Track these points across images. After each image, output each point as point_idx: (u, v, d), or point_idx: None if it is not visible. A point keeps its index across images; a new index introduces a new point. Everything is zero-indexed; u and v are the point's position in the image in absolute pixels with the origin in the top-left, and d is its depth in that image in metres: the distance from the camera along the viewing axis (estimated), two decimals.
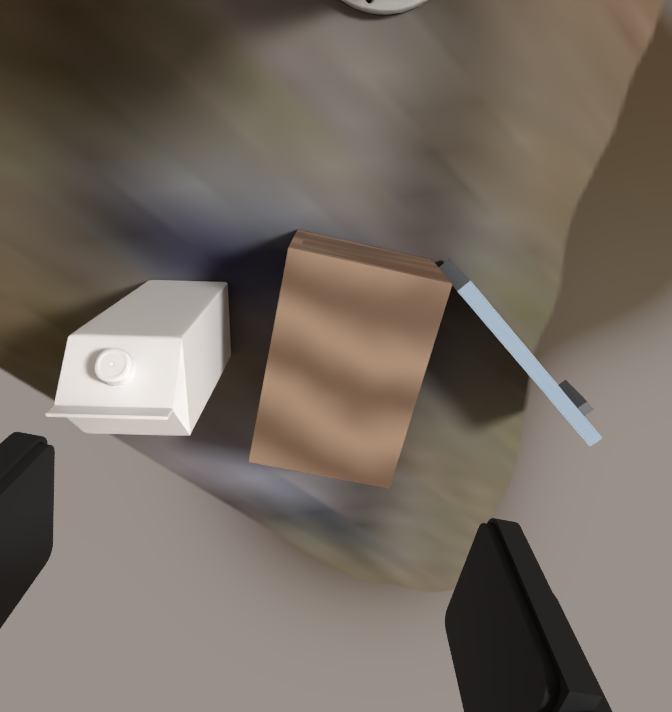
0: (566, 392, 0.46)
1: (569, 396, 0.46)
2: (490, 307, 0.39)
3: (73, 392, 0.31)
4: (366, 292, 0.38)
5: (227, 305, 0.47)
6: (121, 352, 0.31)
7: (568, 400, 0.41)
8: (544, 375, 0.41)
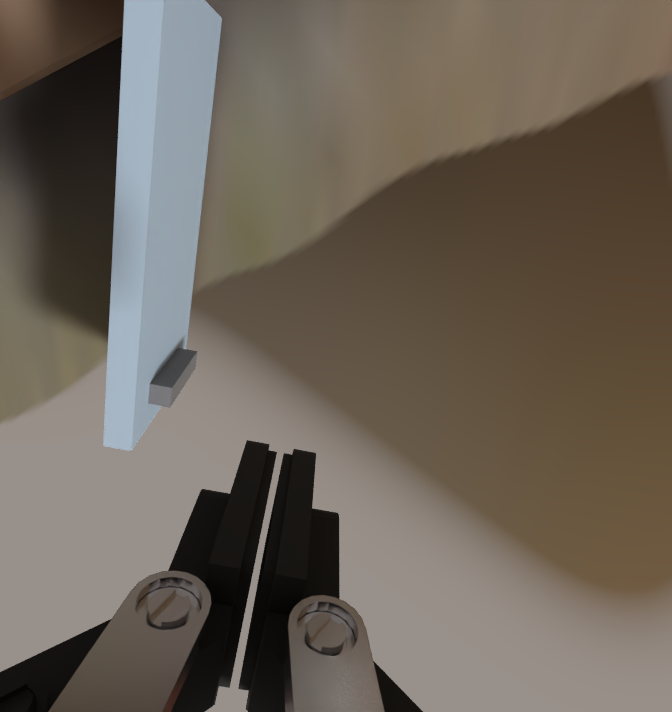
0: (174, 361, 0.26)
1: (168, 367, 0.25)
2: (155, 56, 0.17)
3: None
4: None
5: None
6: None
7: (135, 349, 0.21)
8: (135, 273, 0.20)
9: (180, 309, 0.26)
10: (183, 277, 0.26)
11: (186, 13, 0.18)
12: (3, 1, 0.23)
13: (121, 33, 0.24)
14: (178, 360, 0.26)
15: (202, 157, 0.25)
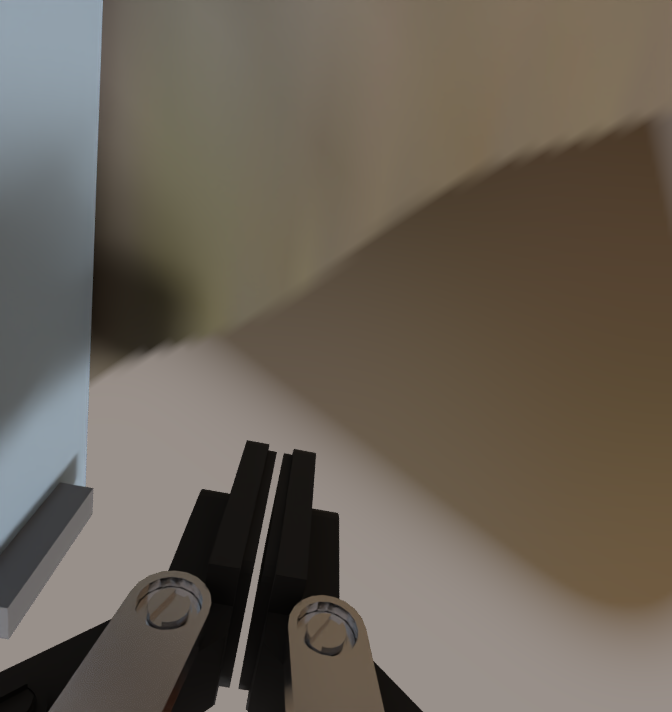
0: (40, 521, 0.14)
1: (23, 540, 0.14)
2: None
3: None
4: None
5: None
6: None
7: None
8: None
9: (55, 424, 0.15)
10: (54, 371, 0.14)
11: None
12: None
13: None
14: (49, 517, 0.14)
15: (81, 152, 0.13)
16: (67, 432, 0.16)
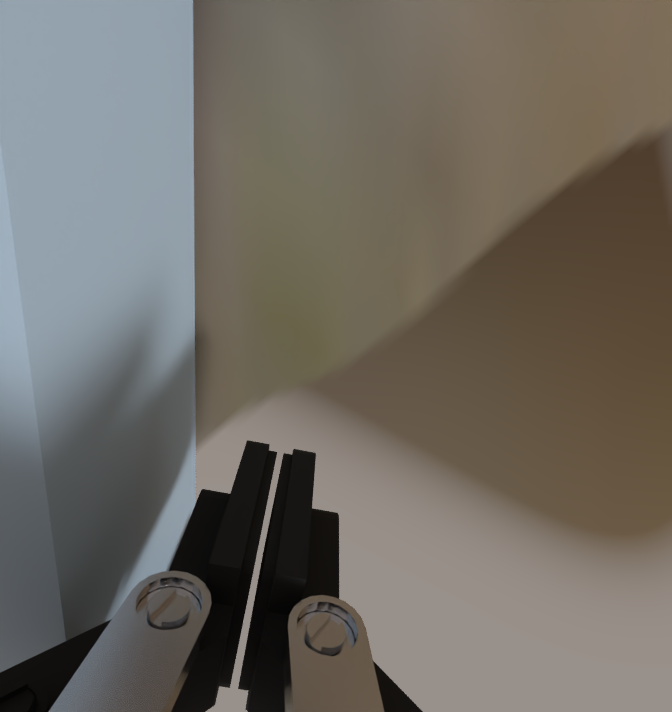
0: None
1: None
2: None
3: None
4: None
5: None
6: None
7: None
8: (30, 545, 0.08)
9: (175, 487, 0.14)
10: (173, 434, 0.14)
11: None
12: None
13: None
14: None
15: (184, 208, 0.13)
16: (183, 493, 0.15)
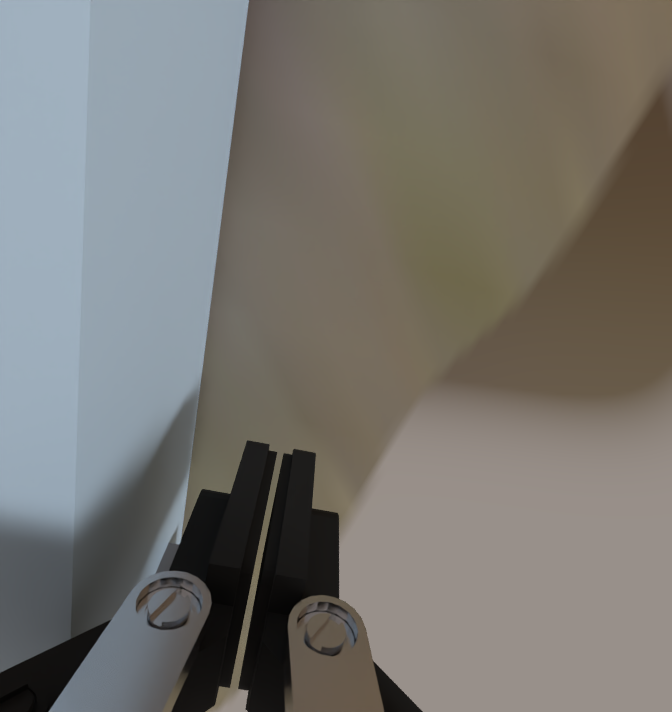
0: None
1: None
2: None
3: None
4: None
5: None
6: None
7: None
8: (50, 543, 0.08)
9: (172, 486, 0.14)
10: (178, 434, 0.14)
11: None
12: None
13: None
14: None
15: (215, 211, 0.13)
16: (177, 491, 0.15)
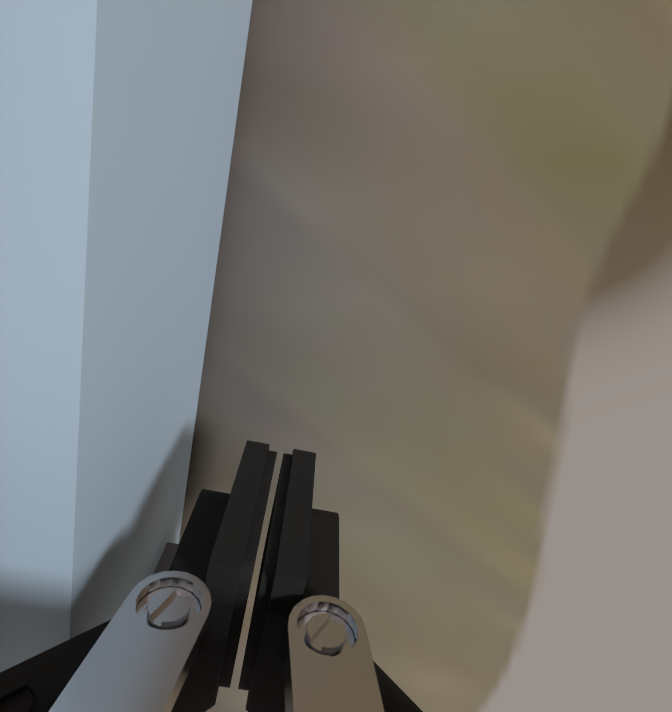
0: None
1: None
2: None
3: None
4: None
5: None
6: None
7: None
8: (50, 542, 0.07)
9: (171, 485, 0.14)
10: (177, 433, 0.14)
11: None
12: None
13: None
14: None
15: (216, 211, 0.13)
16: (176, 490, 0.15)
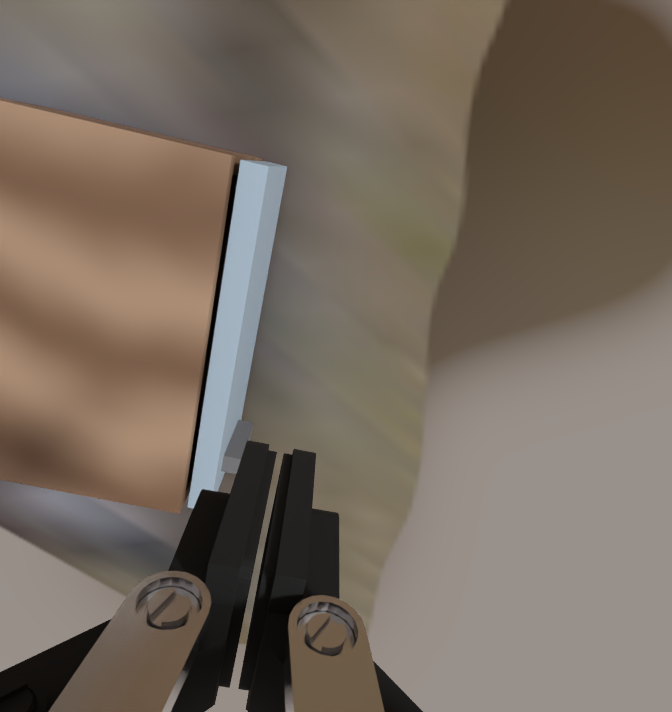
0: (237, 433, 0.31)
1: (234, 439, 0.31)
2: (254, 228, 0.23)
3: None
4: (83, 171, 0.22)
5: None
6: None
7: (220, 433, 0.26)
8: (225, 377, 0.25)
9: (243, 389, 0.32)
10: (247, 365, 0.31)
11: (272, 186, 0.25)
12: None
13: None
14: (241, 432, 0.32)
15: (266, 270, 0.31)
16: (243, 395, 0.33)
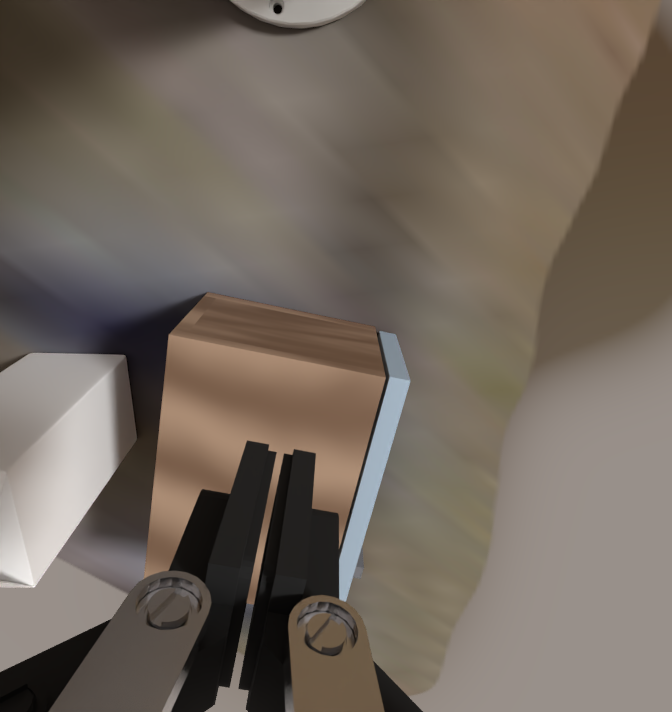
0: None
1: None
2: (396, 420, 0.30)
3: None
4: (275, 388, 0.29)
5: (126, 383, 0.38)
6: None
7: (356, 557, 0.34)
8: (364, 519, 0.33)
9: None
10: None
11: None
12: None
13: None
14: None
15: None
16: None
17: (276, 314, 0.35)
